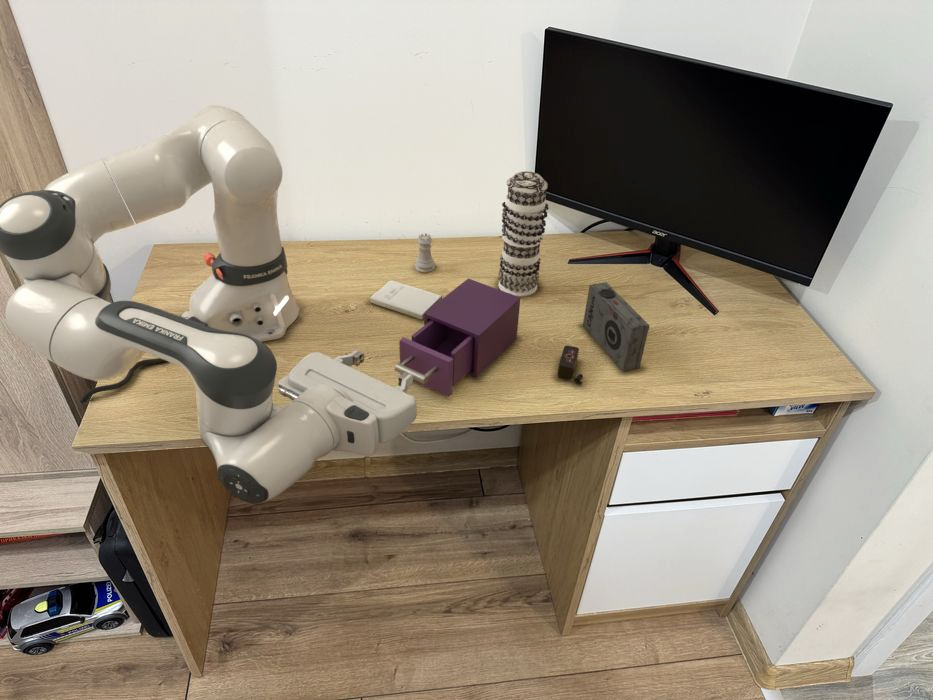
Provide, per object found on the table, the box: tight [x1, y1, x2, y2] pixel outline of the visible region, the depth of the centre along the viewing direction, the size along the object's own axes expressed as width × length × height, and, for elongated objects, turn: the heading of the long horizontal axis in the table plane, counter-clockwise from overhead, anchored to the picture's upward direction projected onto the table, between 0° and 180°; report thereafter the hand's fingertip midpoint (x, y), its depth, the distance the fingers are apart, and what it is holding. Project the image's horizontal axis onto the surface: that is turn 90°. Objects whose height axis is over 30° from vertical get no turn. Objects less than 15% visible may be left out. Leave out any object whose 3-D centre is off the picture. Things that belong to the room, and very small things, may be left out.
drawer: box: [394, 320, 475, 398], centre depth 123 cm, size 18×10×8 cm, turn 147°
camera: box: [582, 281, 650, 372], centre depth 132 cm, size 16×4×10 cm, turn 21°
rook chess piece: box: [414, 233, 436, 274], centre depth 153 cm, size 4×4×8 cm
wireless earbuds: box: [557, 344, 584, 386], centre depth 127 cm, size 5×7×3 cm, turn 164°
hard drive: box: [369, 279, 443, 321], centre depth 144 cm, size 2×8×12 cm
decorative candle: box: [498, 171, 549, 298], centre depth 143 cm, size 9×9×25 cm
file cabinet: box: [423, 277, 521, 379], centre depth 130 cm, size 15×12×10 cm
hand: (384, 365), depth 108 cm, fingers open, 8 cm apart
